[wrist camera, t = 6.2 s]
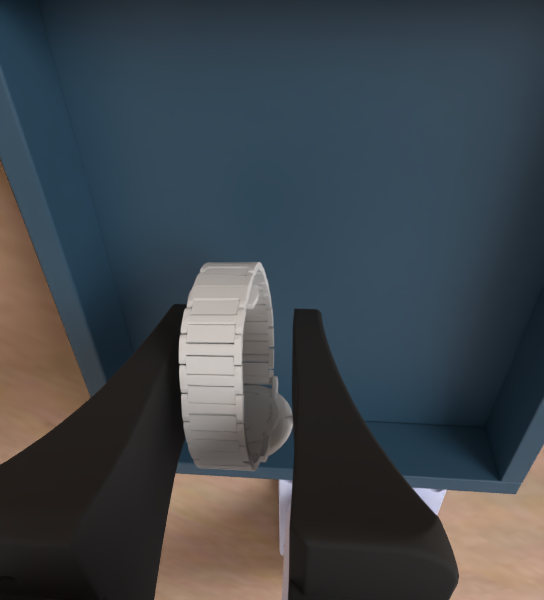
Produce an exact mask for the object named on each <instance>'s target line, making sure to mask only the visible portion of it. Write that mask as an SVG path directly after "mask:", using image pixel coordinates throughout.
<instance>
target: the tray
mask: <svg viewBox="0 0 544 600" xmlns="http://www.w3.org/2000/svg"><path fill="white" fill-rule="evenodd" d="M0 159H1V162H2V165H3V167H4V170H5V173H6V175H7V178H8V180H9V183H10V186H11V188H12V191H13V194H14V196H15V199H16V202H17V204H18V207H19V210H20V212H21V215H22V217H23V220H24V223H25V225H26V228H27V231H28V233H29V236H30V239H31V241H32V244H33V246H34V249H35V252H36V254H37V257H38V260H39V262H40V265H41V268H42V270H43V273H44V275H45V278H46V281H47V283H48V286H49V289H50V291H51V294H52V297H53V299H54V302H55V304H56V307H57V310H58V312H59V315H60V318H61V320H62V323H63V326H64V328H65V331H66V333H67V336H68V339H69V341H70V344H71V347H72V349H73V352H74V355H75V357H76V360H77V362H78V365H79V368H80V370H81V373H82V376H83V378H84V381H85V384H86V386H87V389H88V391H89V394H90V397H92V396H93V395H94V394H95V393H96V392H98V391H99V390H100V389H101V388H102V387H103V386H104V385H105V384H106V383H107V382H108V381H109V380H110V379H111V378H112V377H113V375H114V374H115V373H116V372H117V371H118V370H119V369H120V368H121V367H122V366H123V365H124V364H125V363H126V362H127V361H128V359H129V358H130V357H131V356H132V355H133V354H134V353H135V351H136V350H137V349H138V348H139V347H140V346H141V344H142V343H143V342H144V341H145V340H146V338H147V337H148V336H149V335H150V333H151V332H152V331H153V330H154V328H155V327H156V326H157V325H158V323H159V322H160V321H161V319H162V318H163V317H164V315H165V314H166V313H167V311H168V310H169V309H170V307H171V306H172V305H174V304H187V302H188V295H189V292H190V291H191V290H192V287H193V285H194V283H195V280H196V278H197V275H198V274H199V273H200V269H201V267H202V266H203V265H204V264H205V263H208V262H260V263H261V264H262V267H263V268H264V271H265V274H266V278H267V280H268V285H269V291H270V295H271V302H272V310H273V326H272V327H273V328H274V347H269V348H274V369H270V370H274V376H277V378H278V393H279V394H280V395H281V396H283V398H284V399H285V400H286V401H287V402H288V404H289V406H290V408H291V411H292V338H293V317H294V308H298V309H318V310H319V311H320V312H321V315H322V322H323V327H324V331H325V335H326V338H327V341H328V344H329V347H330V350H331V353H332V356H333V358H334V361H335V363H336V365H337V368H338V370H339V373H340V375H341V377H342V380H343V382H344V384H345V386H346V388H347V390H348V392H349V394H350V396H351V398H352V400H353V402H354V404H355V406H356V407H357V409H358V411H359V413H360V414H361V416H362V418H363V419H364V421H365V423H366V425H367V426H368V428H369V429H370V431H371V432H372V434H373V436H374V437H375V439H376V440H377V442H378V443H379V445H380V446H381V447H382V449H383V450H384V451H385V453H386V454H387V456H388V457H389V458H390V460H391V461H392V463H393V464H394V465H395V467H396V468H397V469H398V471H399V472H400V473H401V474H402V476H403V477H404V478H405V479H406V481H407V482H408V483H409V484H410V486H411V487H412V488H425V489H441V490H457V491H473V492H490V493H506V494H516V493H517V491H518V489H519V487H520V485H521V483H522V482H523V480H524V479H525V477H526V475H527V473H528V471H529V470H530V468H531V466H532V464H533V462H534V461H535V459H536V457H537V455H538V454H539V452H540V450H541V448H542V446H543V445H544V0H0ZM242 363H268V362H242ZM243 385H247V384H243ZM261 386H264V387H268V388H270V389H272V385H261ZM292 415H293V413H292ZM293 464H294V435H293V427H292V430H291V433H290V435H289V437H288V439H287V440H286V442H285V443H284V444H283V445H282V446H281V447H280V448H279V449H278V450H277V451H275V452H274V453H273V454H271V455H269V456H268V458H267V461H266V462H261V461H260V464H259V466H258V469H257V470H256V471H243V470H223V469H201V468H198V467H197V466H196V465H195V464H194V459H192V457H191V455H190V452H189V449H188V443H187V442H186V437H185V441H184V444H183V448H182V451H181V454H180V458H179V461H178V465H177V469H176V473H180V474H197V475H213V476H229V477H245V478H262V479H278V480H293Z"/></svg>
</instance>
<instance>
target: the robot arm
mask: <svg viewBox="0 0 544 600" xmlns="http://www.w3.org/2000/svg"><path fill="white" fill-rule="evenodd" d="M185 308H187V304H174V305H172V306H171V307H170V309H169V310H168V311H167V313H166V314H165V315H164V317H163V318H162V319H161V321H160V322H159V323H158V325H157V326H156V327H155V328H154V330H153V331H152V332H151V333H150V335H149V336H148V337H147V338H146V340H145V341H144V342H143V343H142V344H141V346H140V347H139V348H138V349H137V350H136V351H135V353H134V354H133V355H132V356H131V357H130V358H129V359H128V361H127V362H126V363H125V364H124V365H123V366H122V367H121V368H120V369H119V370H118V371H117V372H116V373H115V374H114V375H113V377H112V378H111V379H110V380H109V381H108V382H107V383H106V384H105V385H104V386H103V387H102V388H101V389H100V390H99V391H98V392H96V393H95V394H94V395H93V396H92V397H91V398H90V399H89V400H88V401H87V402H85V403H84V404H83V405H82V406H81V407H80V408H79V409H78V410H76V411H75V412H74V413H73V414H71V415H70V416H69V417H68V418H66V419H65V420H64V421H63V422H62V423H60V424H59V425H58V426H57V427H55V428H54V429H53V430H51V431H50V432H49V433H47V434H46V435H45V436H43V437H42V438H40V439H39V440H37V441H36V442H35V443H33V444H32V445H30V446H29V447H27V448H26V449H24V450H23V451H21V452H20V453H18V454H17V455H15V456H14V457H12V458H11V459H9V460H8V461H6V462H4V463H3V464H1V465H0V600H154V597H155V590H156V583H157V576H158V570H159V563H160V557H161V550H162V544H163V538H164V532H165V527H166V521H167V515H168V509H169V504H170V498H171V493H172V488H173V482H174V477H175V473H176V469H177V465H178V461H179V458H180V454H181V451H182V448H183V444H184V441H185V432H184V421H183V418H182V405H181V395H182V393H181V389H180V378H179V367H180V365H181V364H179V340H180V335H187V334H182V333H181V325H182V319H183V314H184V310H185ZM292 413H293V435H294V464H293V480H279V543H280V554H281V555H282V556H284V565H283V582H282V599H281V600H449V599H450V597H451V595H452V593H453V591H454V590H455V588H456V586H457V584H458V579H459V573H458V568H457V564H456V560H455V557H454V554H453V551H452V548H451V545H450V542H449V540H448V537H447V535H446V532H445V530H444V528H443V525H442V523H441V521H440V519H439V517H438V516H437V514H438V511H439V509H440V506H441V504H442V501H443V499H444V496H445V493H446V491H447V490H441V489H425V488H412V487H411V486H410V484H409V483H408V482H407V481H406V479H405V478H404V477H403V476H402V474H401V473H400V472H399V471H398V469H397V468H396V467H395V465H394V464H393V463H392V461H391V460H390V458H389V457H388V456H387V454H386V453H385V451H384V450H383V449H382V447H381V446H380V445H379V443H378V442H377V440H376V439H375V437H374V436H373V434H372V432H371V431H370V429H369V428H368V426H367V425H366V423H365V421H364V419H363V418H362V416H361V414H360V413H359V411H358V409H357V407H356V406H355V404H354V402H353V400H352V398H351V396H350V394H349V392H348V390H347V388H346V386H345V384H344V382H343V380H342V377H341V375H340V373H339V370H338V368H337V365H336V363H335V361H334V358H333V356H332V353H331V350H330V347H329V344H328V341H327V338H326V335H325V331H324V327H323V322H322V315H321V312H320V311H319V310H318V309H298V308H294V317H293V338H292Z"/></svg>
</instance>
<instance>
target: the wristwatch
mask: <svg viewBox="0 0 544 600" xmlns="http://www.w3.org/2000/svg"><path fill="white" fill-rule="evenodd" d="M272 326H273V310H272V302H271V295H270V291H269V285H268V280H267V278H266V274H265V271H264V268H263V267H262V264H261V263H260V262H208V263H205V264H204V265H203V266H202V267H201V269H200V273H199V274H198V275H197V278H196V280H195V283H194V285H193V287H192V290H191V291H190V292H189V295H188V302H187V308H185V310H184V314H183V319H182V325H181V333H182V334H187V335H180V340H179V364H181V365H180V367H179V378H180V389H181V393H182V395H181V405H182V418H183V421H184V432H185V437H186V442H187V443H188V449H189V452H190V455H191V457H192V459H194V464H195V465H196V466H197V467H198V468H201V469H223V470H243V471H256V470H257V469H258V466H259V464H260V461H261V462H266V461H267V458H268V456H269V455H271V454H273V453H274V452H275V451H277V450H278V449H279V448H280V447H281V446H282V445H283V444H284V443H285V442H286V440H287V439H288V437H289V435H290V433H291V430H292V427H293V415H292V411H291V408H290V406H289V404H288V402H287V401H286V400H285V399H284V398H283V396H281V395H280V394H279V393H278V378H277V376H274V370H270V369H274V348H269V347H274V328H273V327H272ZM242 362H268V363H242ZM243 384H247V385H243ZM261 385H272V389H270V388H268V387H264V386H261Z"/></svg>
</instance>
